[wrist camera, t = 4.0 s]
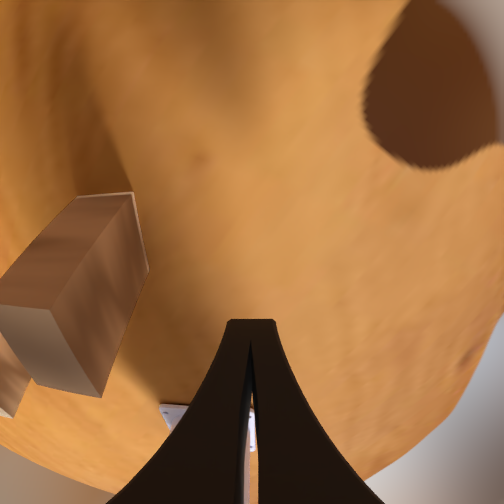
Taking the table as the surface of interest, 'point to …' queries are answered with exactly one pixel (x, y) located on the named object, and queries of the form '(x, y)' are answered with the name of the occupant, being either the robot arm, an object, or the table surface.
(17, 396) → the maple block
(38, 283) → the walnut block
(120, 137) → the table surface
